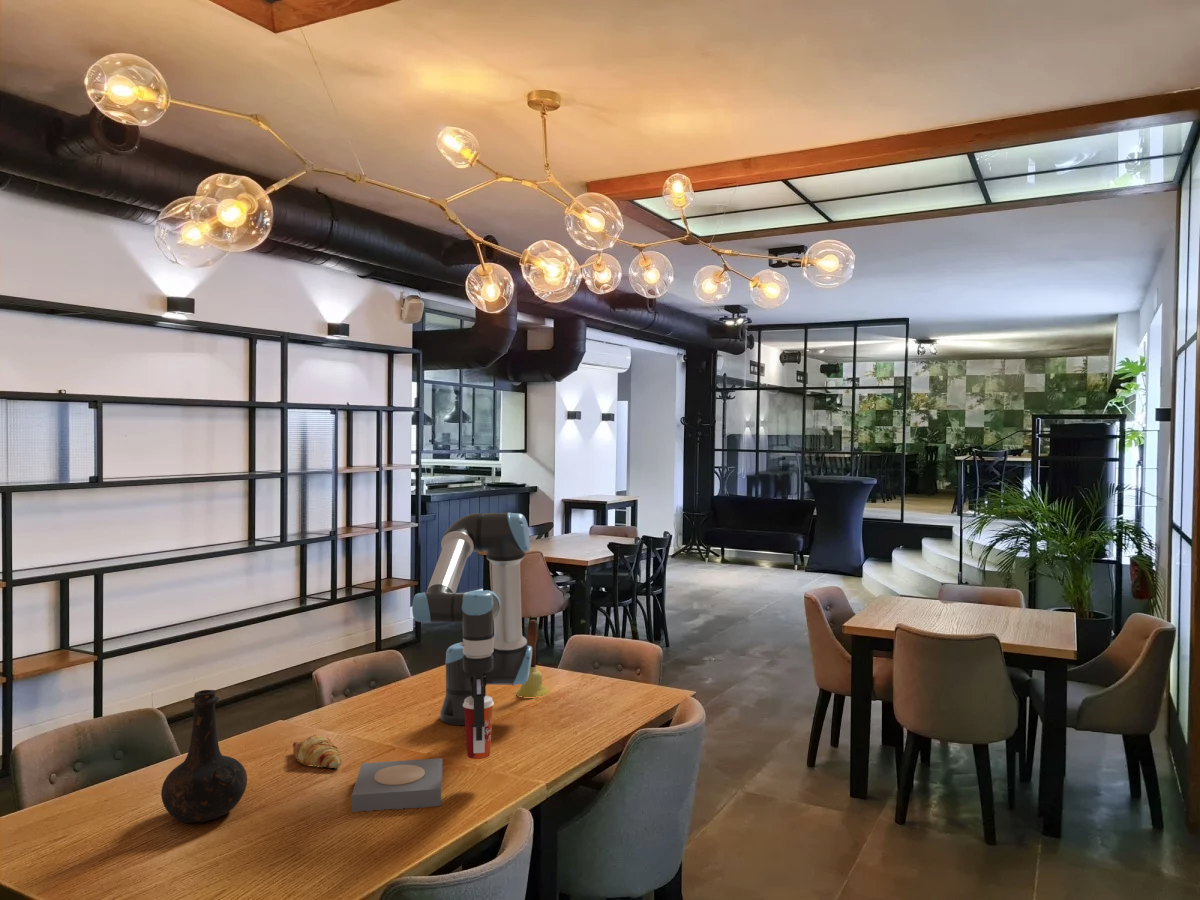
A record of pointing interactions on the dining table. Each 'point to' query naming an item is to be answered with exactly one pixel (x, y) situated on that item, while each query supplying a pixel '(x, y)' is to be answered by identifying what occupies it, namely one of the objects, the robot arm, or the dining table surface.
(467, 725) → the paper cup
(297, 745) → the croissant
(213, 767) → the glass bottle
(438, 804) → the plinth
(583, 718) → the dining table surface
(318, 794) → the dining table surface
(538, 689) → the handbell
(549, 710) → the dining table surface
